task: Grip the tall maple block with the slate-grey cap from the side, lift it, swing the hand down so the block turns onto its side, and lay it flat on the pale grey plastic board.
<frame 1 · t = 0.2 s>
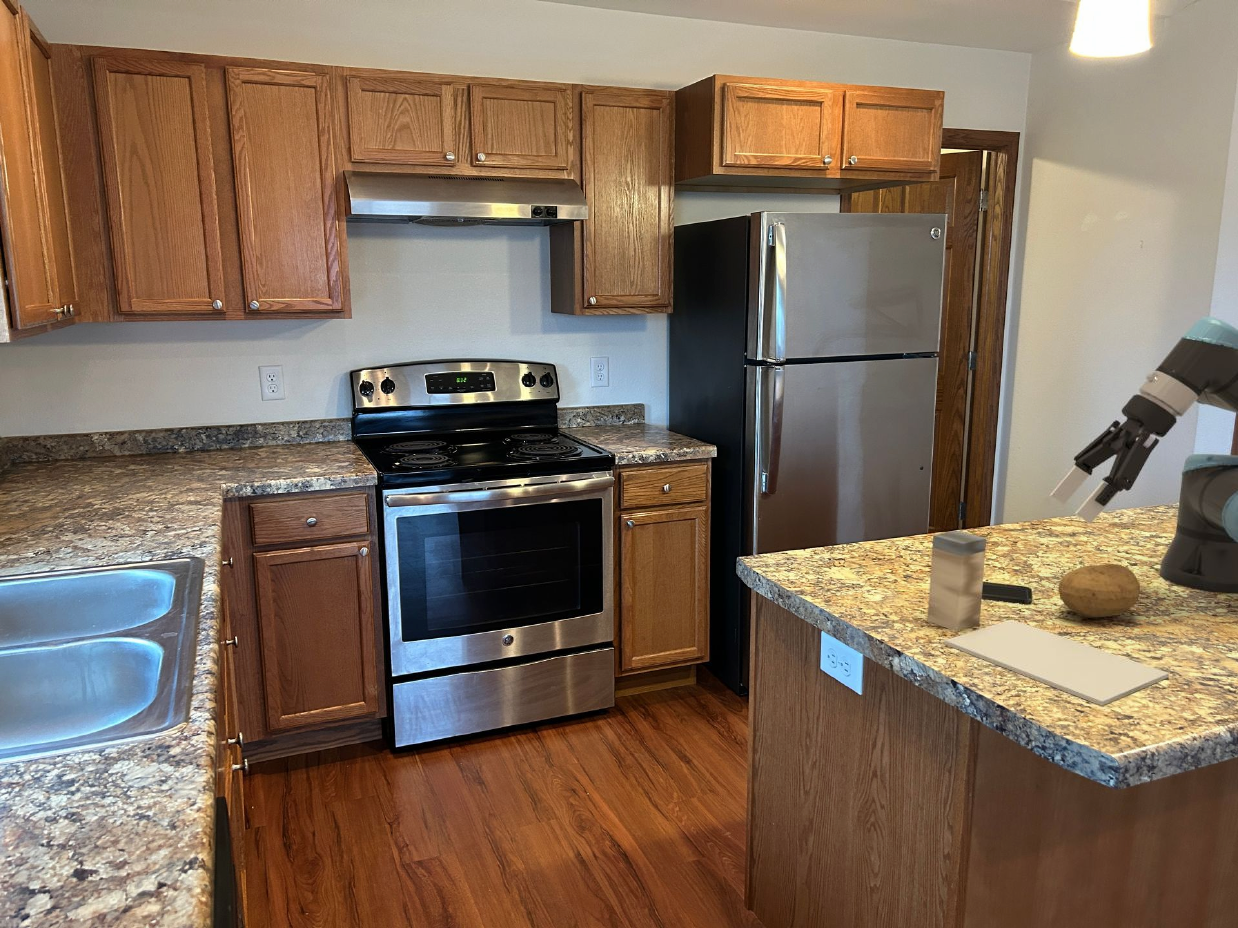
hand: (1069, 509, 153), 15 cm above the table, tool tilted 35°, fingers open, 13 cm apart
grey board: (1051, 659, 130), on the table
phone: (983, 595, 159), on the table
potato: (1094, 616, 148), on the table
maple block: (953, 622, 145), on the table
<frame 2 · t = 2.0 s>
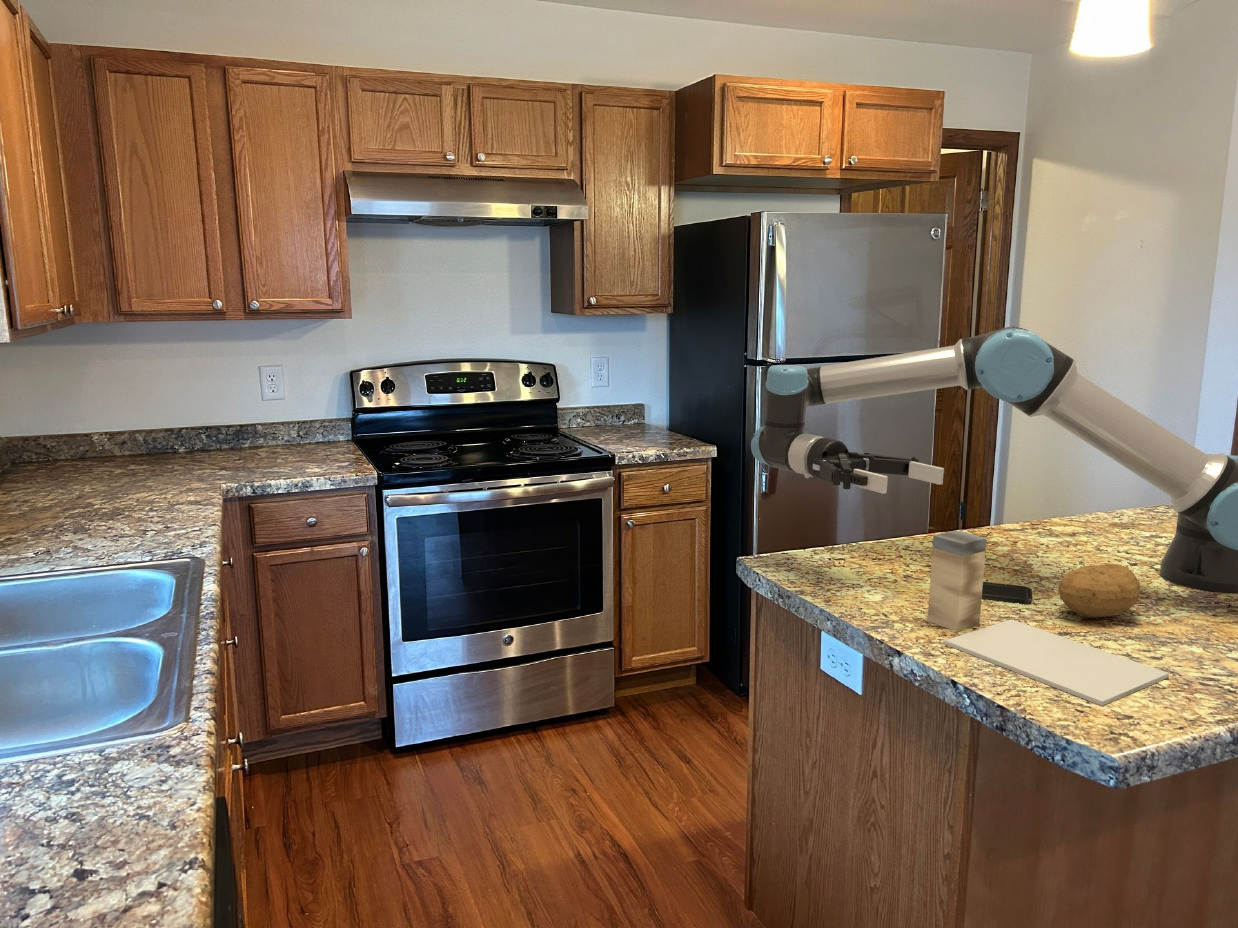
hand: (914, 480, 148), 21 cm above the table, tool horizontal, fingers open, 13 cm apart
nothing on the table moved.
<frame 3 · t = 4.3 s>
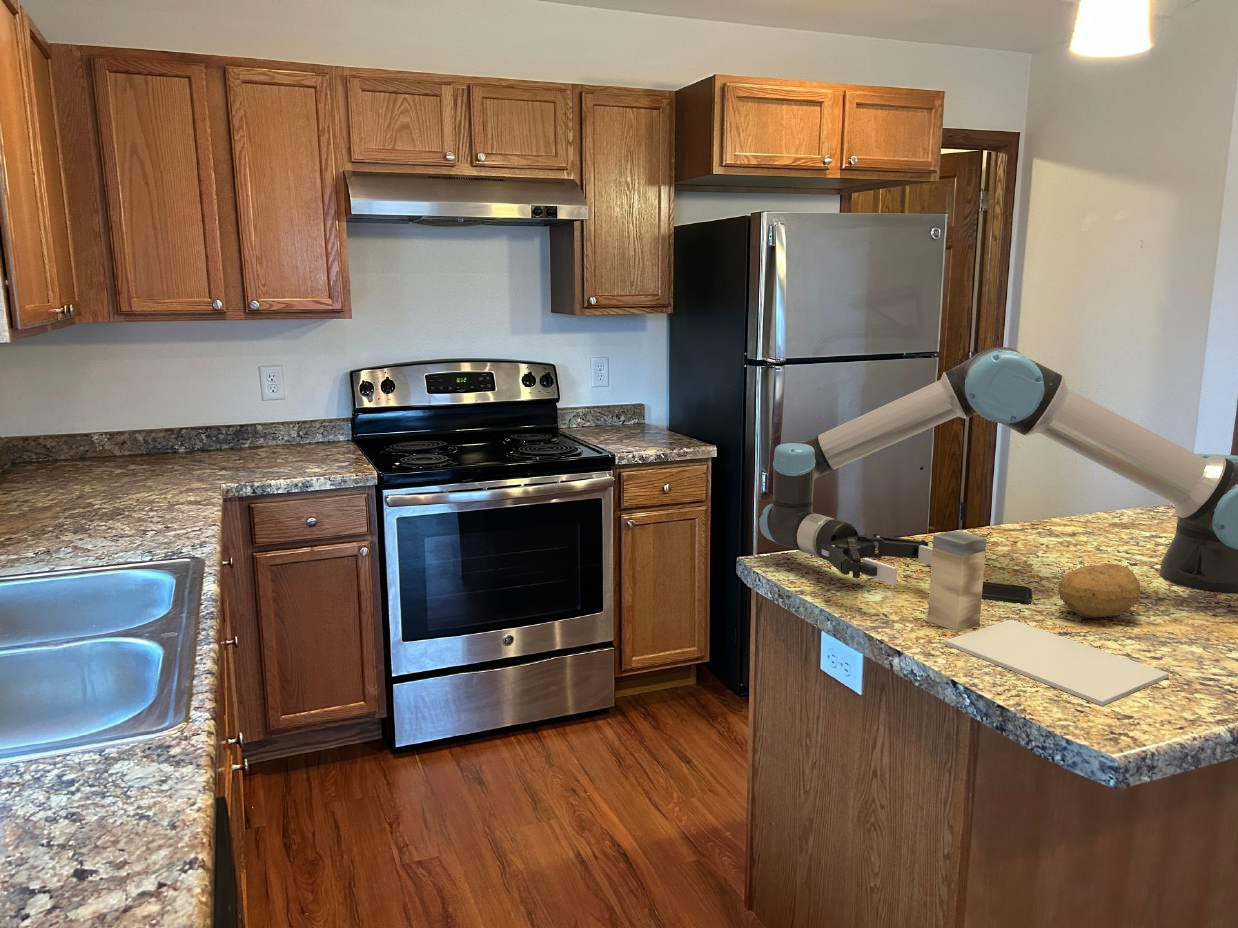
hand: (924, 569, 148), 7 cm above the table, tool horizontal, fingers open, 13 cm apart
nothing on the table moved.
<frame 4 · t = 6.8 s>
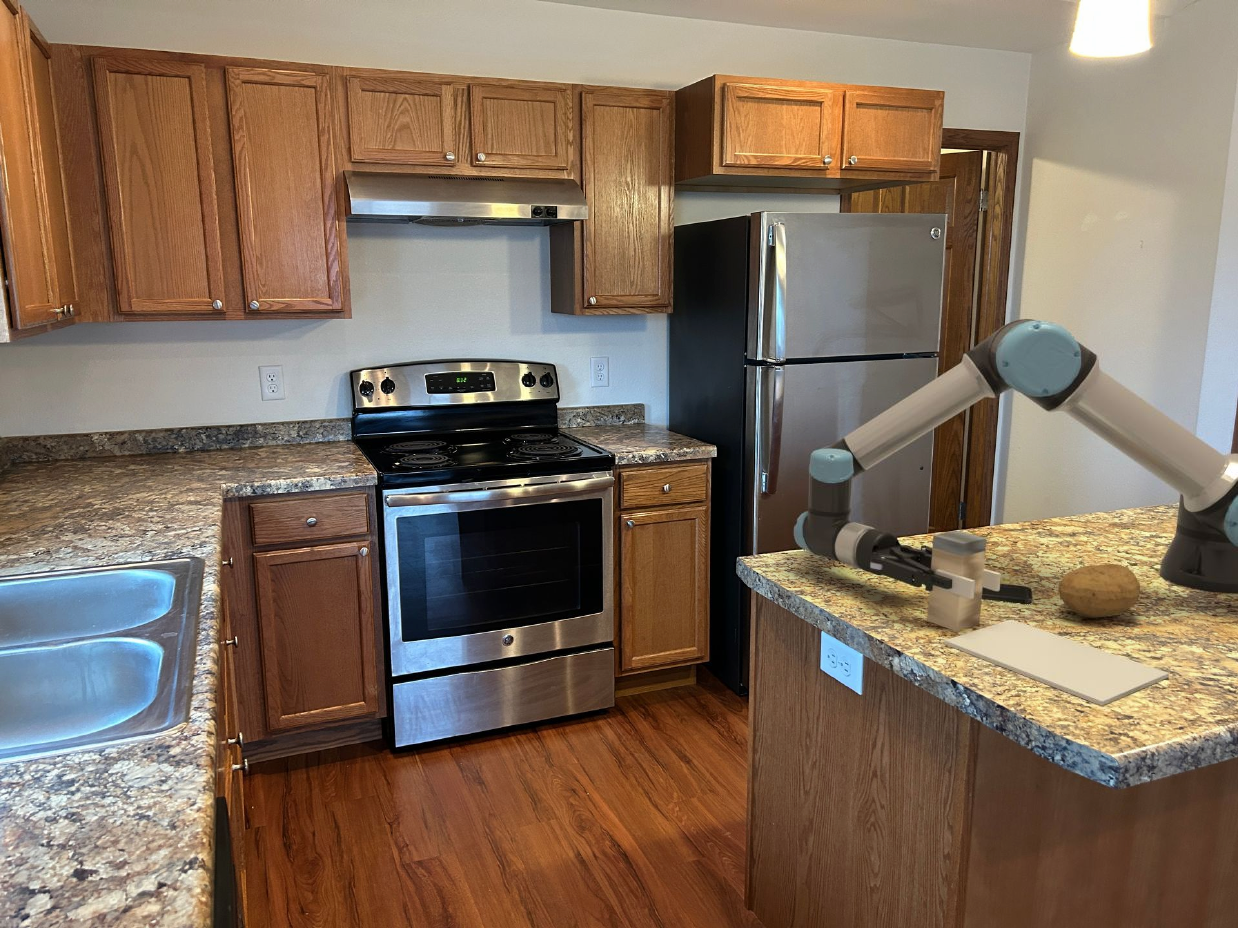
hand: (985, 585, 139), 8 cm above the table, tool horizontal, fingers closed on maple block, 5 cm apart
maple block: (953, 622, 145), on the table, touching gripper
everything else where it was.
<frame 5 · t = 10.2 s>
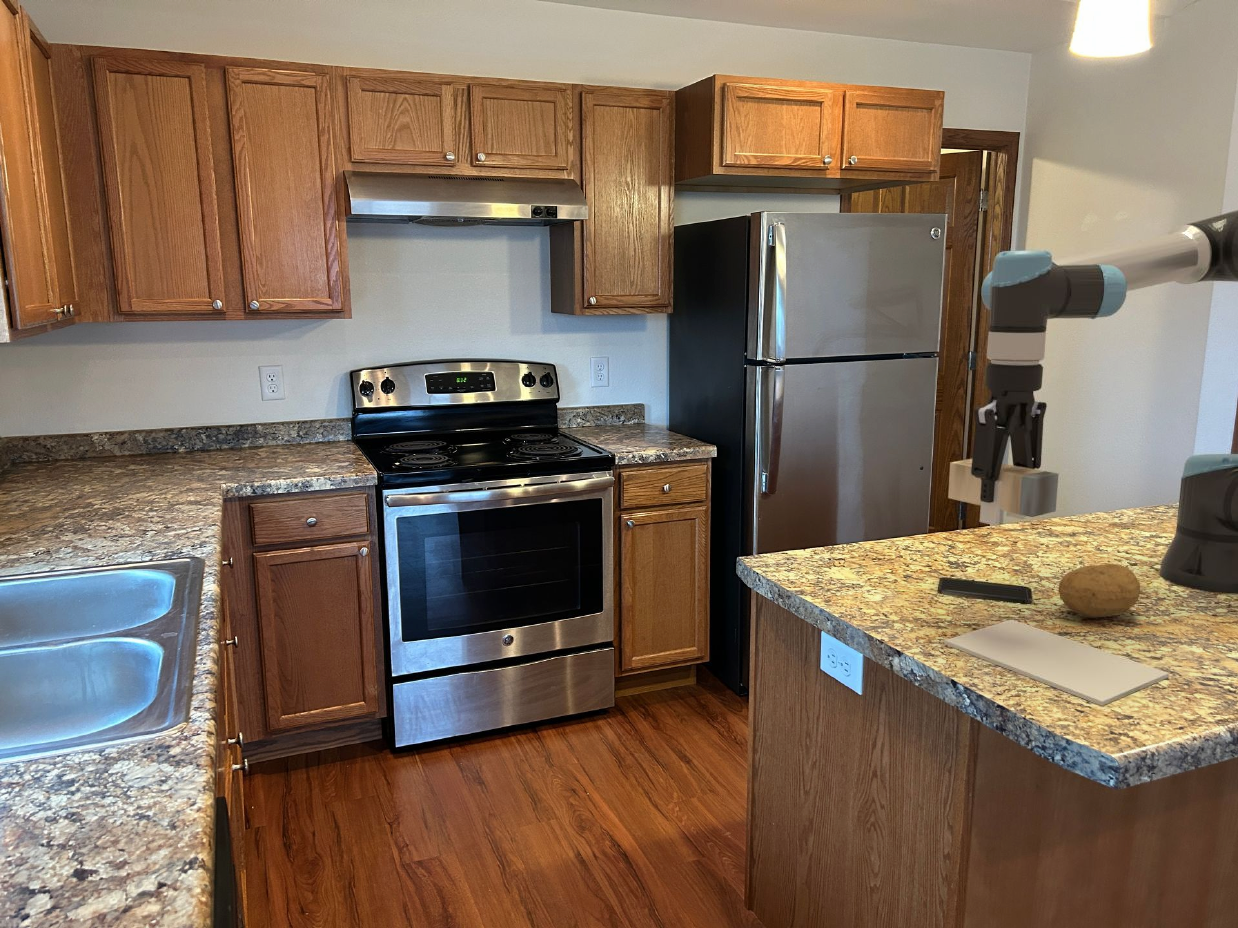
hand: (1002, 519, 135), 18 cm above the table, tool pointing down, fingers closed on maple block, 5 cm apart
maple block: (961, 478, 140), point 23 cm above the table, tilted 90°, touching gripper
everything else where it was.
when the fingers open (1 cm above the table, at t = 14.4 s): maple block drops 3 cm, resting on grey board.
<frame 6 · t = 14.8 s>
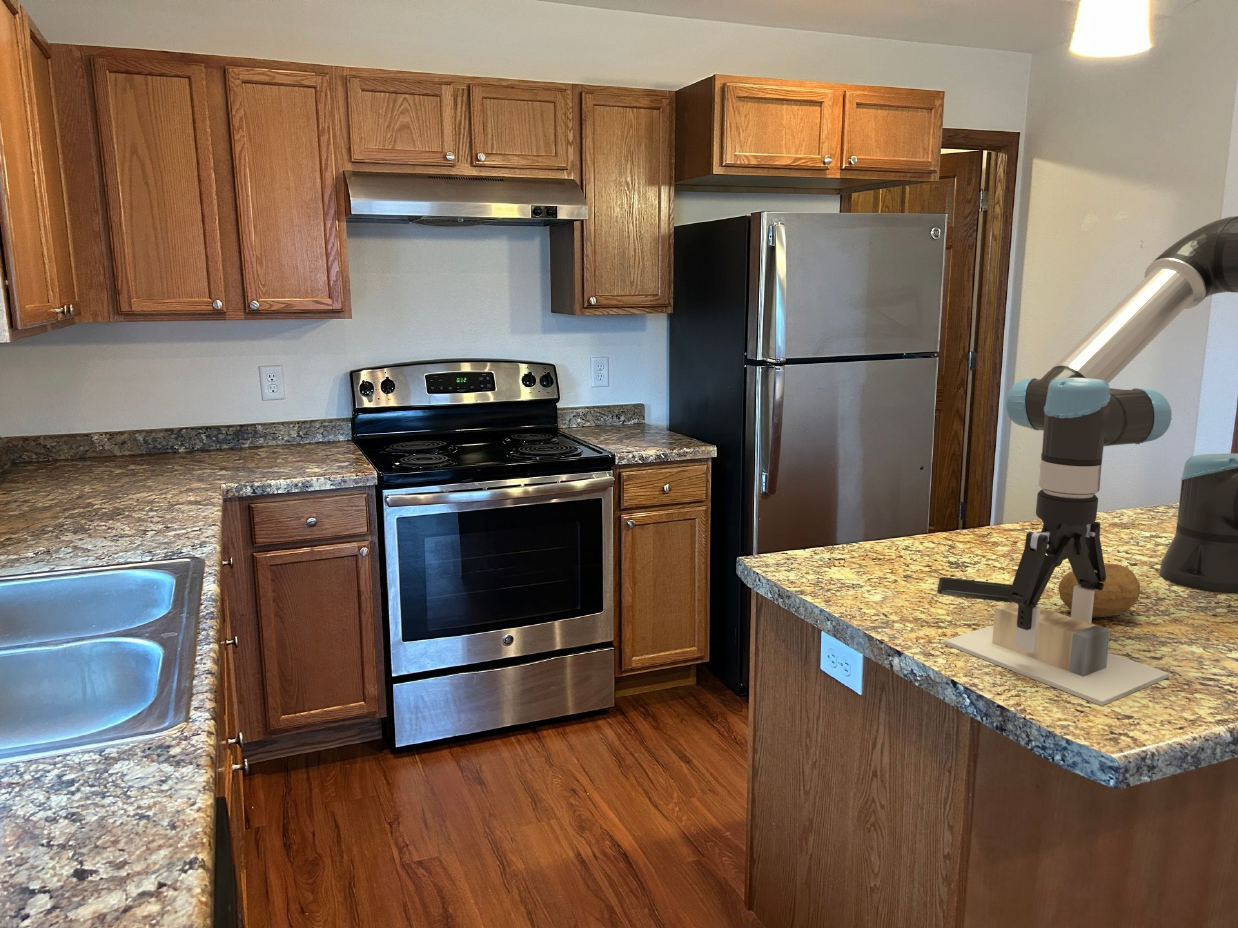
hand: (1053, 640, 130), 3 cm above the table, tool pointing down, fingers open, 12 cm apart
maple block: (1005, 621, 136), point 3 cm above the table, tilted 90°, touching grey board
everything else where it was.
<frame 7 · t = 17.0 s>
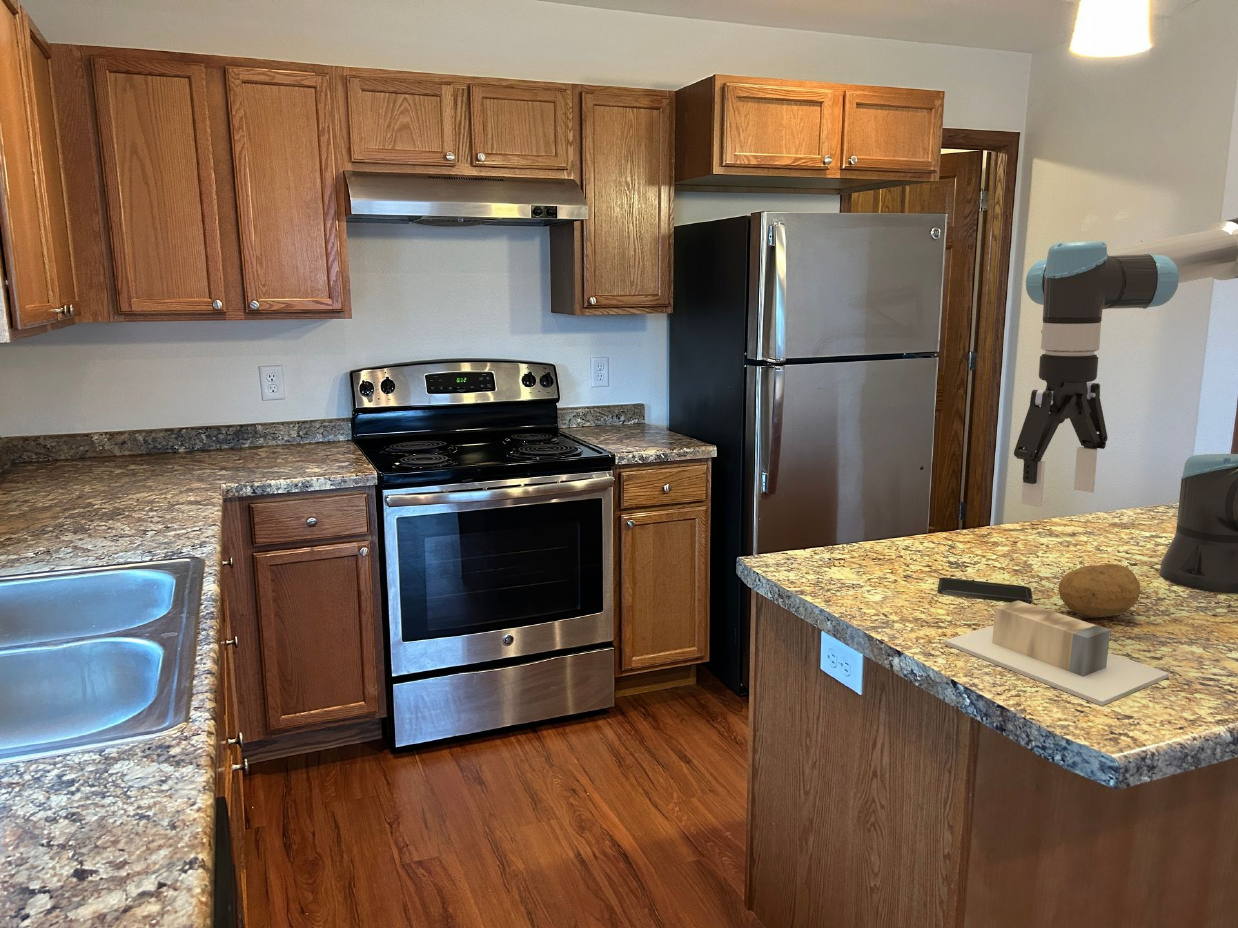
hand: (1058, 497, 135), 21 cm above the table, tool pointing down, fingers open, 13 cm apart
nothing on the table moved.
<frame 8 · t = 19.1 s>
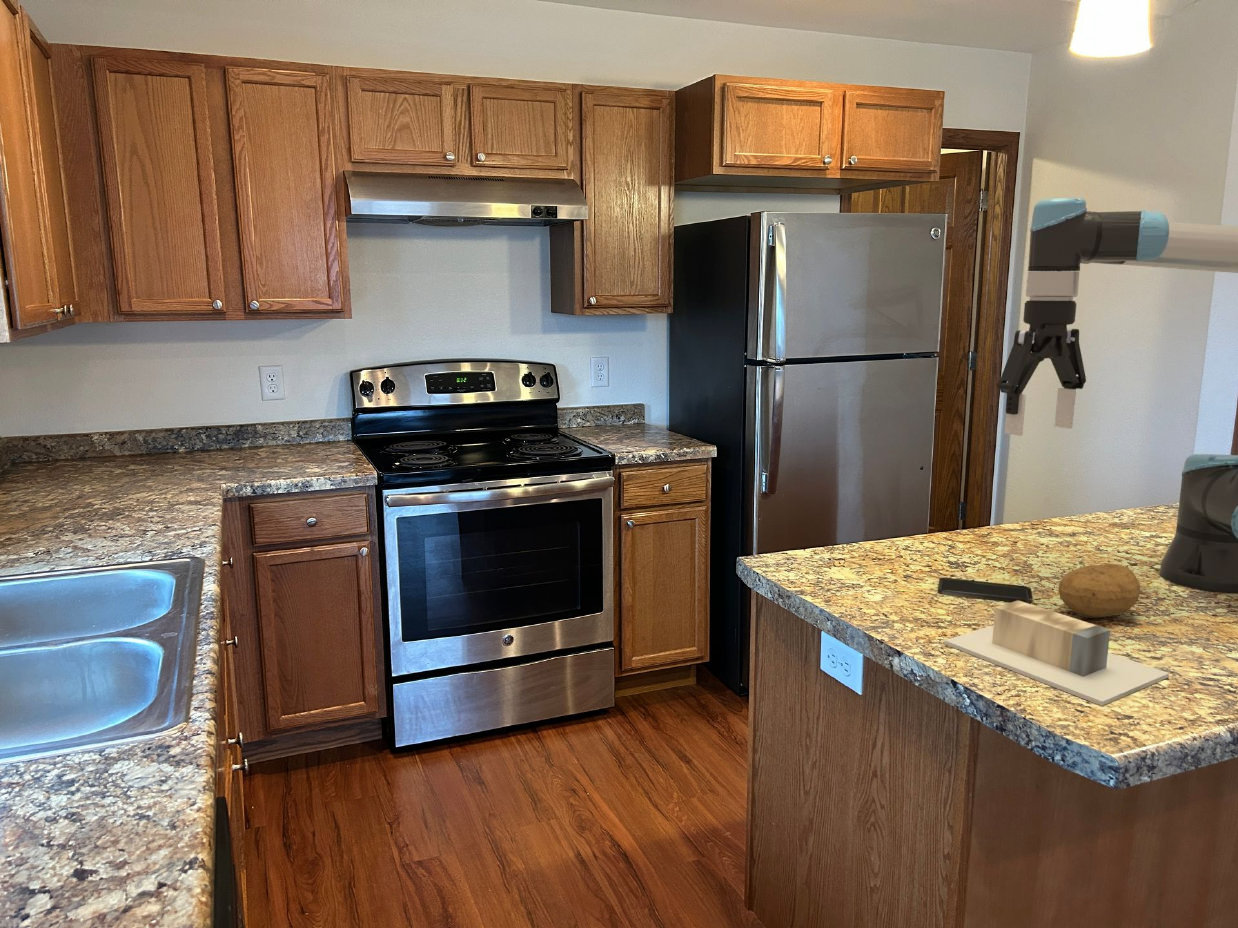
hand: (1038, 431, 150), 29 cm above the table, tool pointing down, fingers open, 13 cm apart
nothing on the table moved.
at the end: maple block tilted 90°; maple block inside the target area on the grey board (7.6 cm from its centre), point 3.3 cm above the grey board's base; the gripper is holding nothing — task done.
